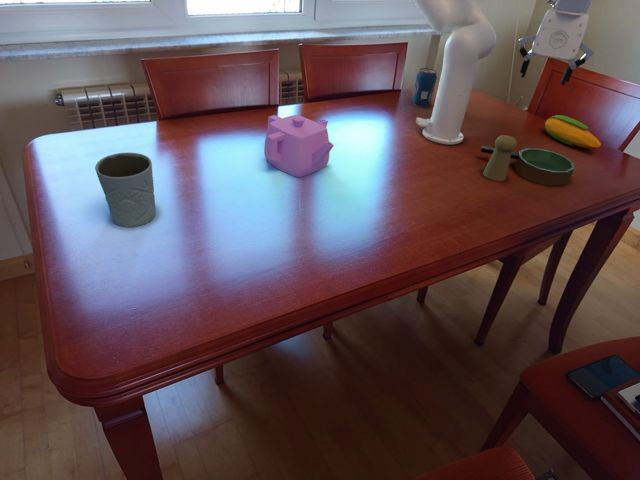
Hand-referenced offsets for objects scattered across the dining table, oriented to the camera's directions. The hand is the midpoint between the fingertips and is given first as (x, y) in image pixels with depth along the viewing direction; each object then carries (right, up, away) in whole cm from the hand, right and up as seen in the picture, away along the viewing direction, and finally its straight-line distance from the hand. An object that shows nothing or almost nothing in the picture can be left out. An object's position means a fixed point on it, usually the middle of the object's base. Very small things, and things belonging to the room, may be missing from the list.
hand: (542, 80), depth 112 cm
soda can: (-20, +8, +48) cm, 53 cm away
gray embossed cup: (-96, -36, -21) cm, 104 cm away
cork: (-10, -24, +6) cm, 26 cm away
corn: (+23, -10, +28) cm, 38 cm away
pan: (0, -21, +10) cm, 24 cm away
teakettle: (-63, -21, +3) cm, 66 cm away
